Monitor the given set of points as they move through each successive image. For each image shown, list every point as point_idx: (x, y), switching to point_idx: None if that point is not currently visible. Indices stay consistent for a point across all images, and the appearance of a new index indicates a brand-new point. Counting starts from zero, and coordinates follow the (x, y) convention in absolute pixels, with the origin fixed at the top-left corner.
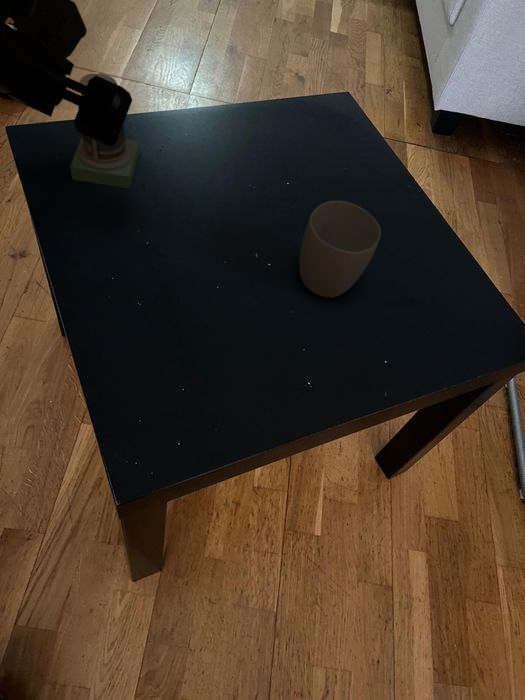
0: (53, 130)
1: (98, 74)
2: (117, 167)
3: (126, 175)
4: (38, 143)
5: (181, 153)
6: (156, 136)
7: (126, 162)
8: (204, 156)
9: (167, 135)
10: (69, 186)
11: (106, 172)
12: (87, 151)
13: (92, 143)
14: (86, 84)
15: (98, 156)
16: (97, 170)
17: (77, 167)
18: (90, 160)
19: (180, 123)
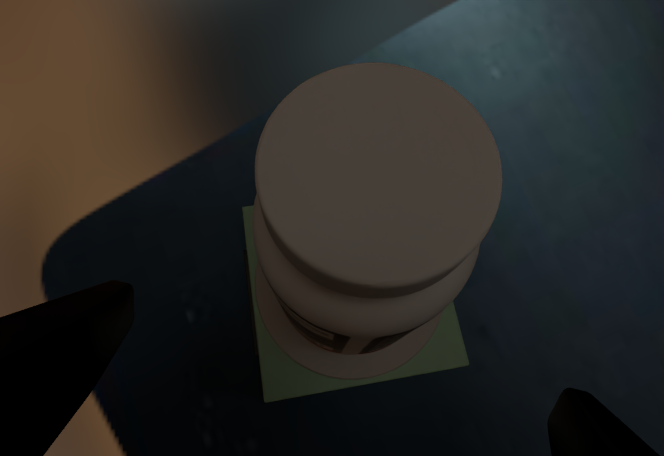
0: (138, 198)
1: (339, 77)
2: (422, 346)
3: (460, 363)
4: (113, 272)
5: (519, 149)
6: None
7: (442, 311)
8: (582, 136)
9: None
10: (273, 436)
11: (391, 376)
12: (312, 342)
13: (344, 348)
14: (311, 202)
15: (361, 353)
16: (359, 380)
17: (288, 393)
18: (325, 354)
19: (460, 36)
